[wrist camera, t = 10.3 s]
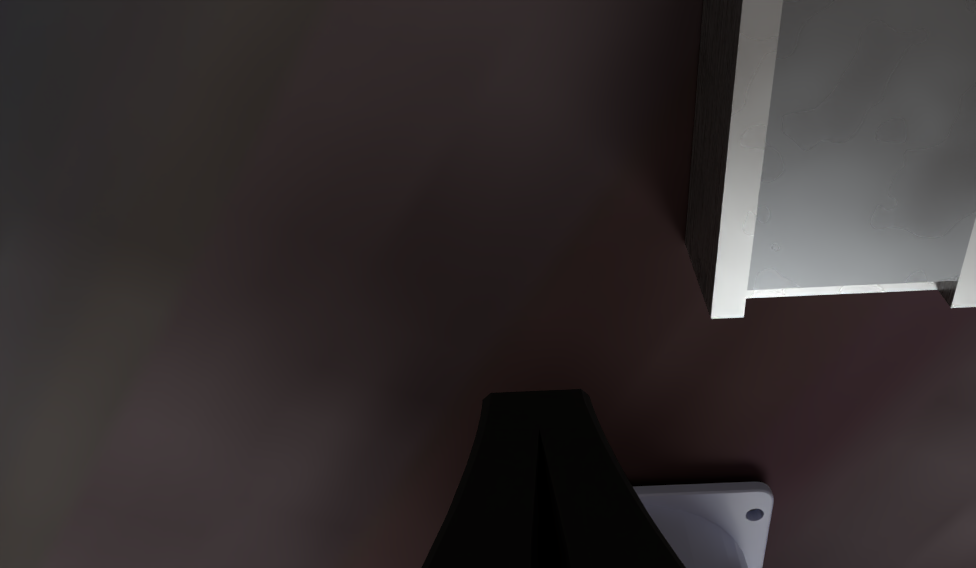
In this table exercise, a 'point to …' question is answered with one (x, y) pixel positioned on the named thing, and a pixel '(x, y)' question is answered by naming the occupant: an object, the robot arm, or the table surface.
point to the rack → (834, 150)
